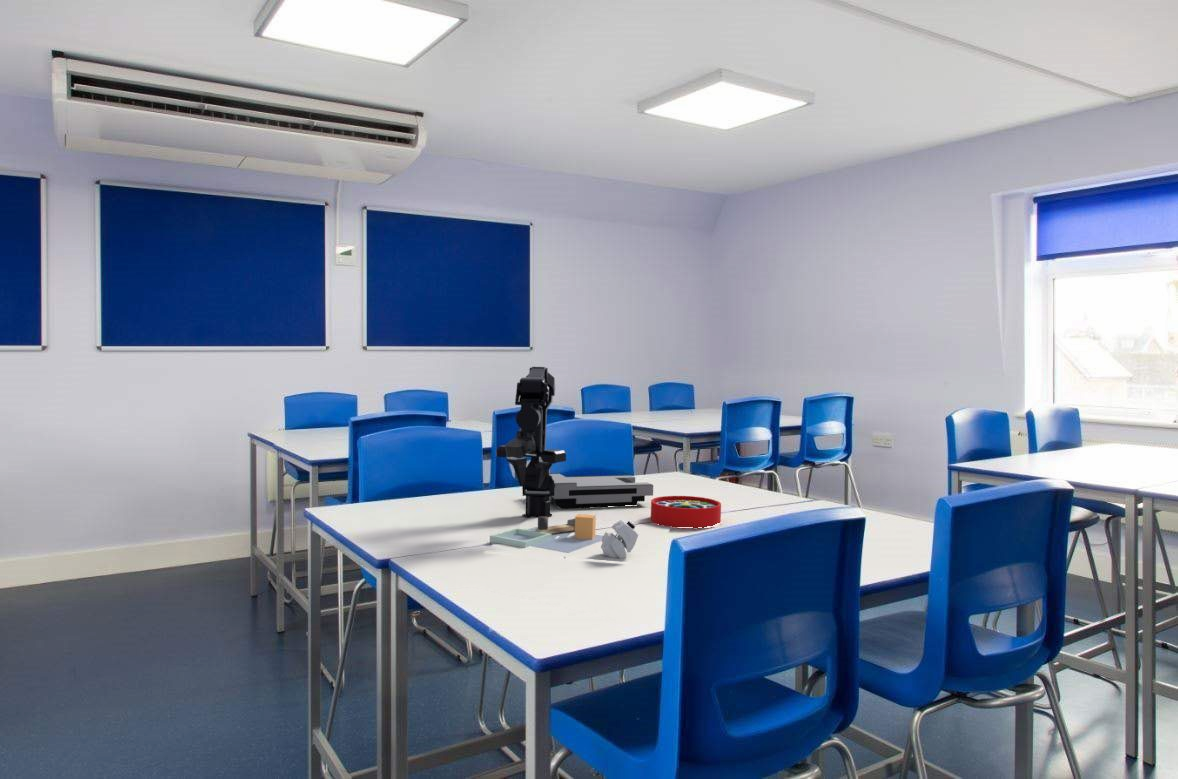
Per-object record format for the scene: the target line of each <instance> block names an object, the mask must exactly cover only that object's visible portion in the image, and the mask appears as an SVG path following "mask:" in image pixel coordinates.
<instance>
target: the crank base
mask: <svg viewBox="0 0 1178 779" xmlns="http://www.w3.org/2000/svg"><path fill="white" fill-rule="evenodd" d="M536 528H538V526H534V527H532V528H528V529H527V530H532V531H535V529H536ZM602 537H603V535H601V534H595V537H594V538H593V539H579V538H575V530H573V531H566V532H559V533H553V534H552V539H550V540H547V541H544V542H541V543H538V544H535V545H532V546H531V547H534V548H539V549H544V550H550V551H555V552H556V551H557V552H561V553H567V554H570V553H572V552H575V551H577V550H581V549H583V548H586V547H588V546H591V545H594V544H596V543H600V542H602ZM506 538H511V539H517V540H522V541H527V540H530V539H533V538H536V537H532V536H527V535H521V534H515V535H512V536H508V537H506Z"/></svg>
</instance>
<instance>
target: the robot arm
mask: <svg viewBox="0 0 1178 779" xmlns="http://www.w3.org/2000/svg"><path fill="white" fill-rule="evenodd" d="M528 370H529V372H528V374H527V375H526V376H525V377H521V378H520V379H519V382H517V384H516V391H515V401H514V405H515V406H520V410H519V411H517V413H516V416H515V421H516V424H517V426H518V428H519V430H517V431H516V433H515V434H516V436H515V438H513V439H511V440H510V441H509V442H507V443H505V445H498V447H497V449H496V450H495V457H497V458H502V459H503V458H504V459H505V458H506V459H505V460H506V462H508V463H509V464H510V465H512V468H513V470H514V472H515V475H516V479H517V480H518V481H517V482H518V485H519V486H521V487H522V488H521V489H522V491H521V492H522V497H525V513H523V514H522V516H521V517H526V518H538V517H540V516H546V517H548V518H549V517H551V516H553V513H551V502H550V501H549V496H550V497H551V496H554V491H555V488H554V480H553V478H552V476H550V473H551V467H552V466H553V465H554V464H556V463H563V462H567V453H566V452H565V450H564V449H555V448H554V449H546V446H547V445H546V444H547V443H546V442H547V440H546V439H547V416H548V414H547V413H548V409H550V408H549V407H550V406H551V405H552V403H553V400H554V399H553V397H555V395H556V382H555V377H554V376H553V375H552V374H551V373H549V369H548V367H546V366H531V367H529V369H528ZM528 458H530V461H529V463H528ZM527 463H528V464H527ZM548 490H550V492H547V491H548Z"/></svg>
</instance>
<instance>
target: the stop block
mask: <svg viewBox="0 0 1178 779" xmlns="http://www.w3.org/2000/svg"><path fill="white" fill-rule="evenodd" d="M574 518H575V530H574V531H575V538H579V539H593V538H594V537H595V535H596V525H597V524H596V520H597V515H596V514H586V513H585V514H583V513H578V514H576V515H575V516H574Z"/></svg>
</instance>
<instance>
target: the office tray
mask: <svg viewBox="0 0 1178 779" xmlns="http://www.w3.org/2000/svg"><path fill="white" fill-rule="evenodd" d="M550 476H552V478H553V480H554V488H555V491H554V496H551V497H550V496H549V501H550V503H552V504H554V505H555V506H556V507H557V508H558V509H560V510H574V509H575V508H580V509H591V508H590V507H606V508H609V507H608V506H625V505H637V506H638V502H645V501H646V500H645V497H646V496H647V497H649V496H651V497H653V496H654V484H651V483H650V482H636V476H633V475H631V474H618V475H617V474H615V475H613V474H612V475H611V474H610V475H581V476H580V475H577V476H576V475H575V476H572V475H571V476H565V475H563V474H560V473H559V472H550ZM547 492H550V490H548V491H547ZM575 510H576V509H575Z"/></svg>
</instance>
